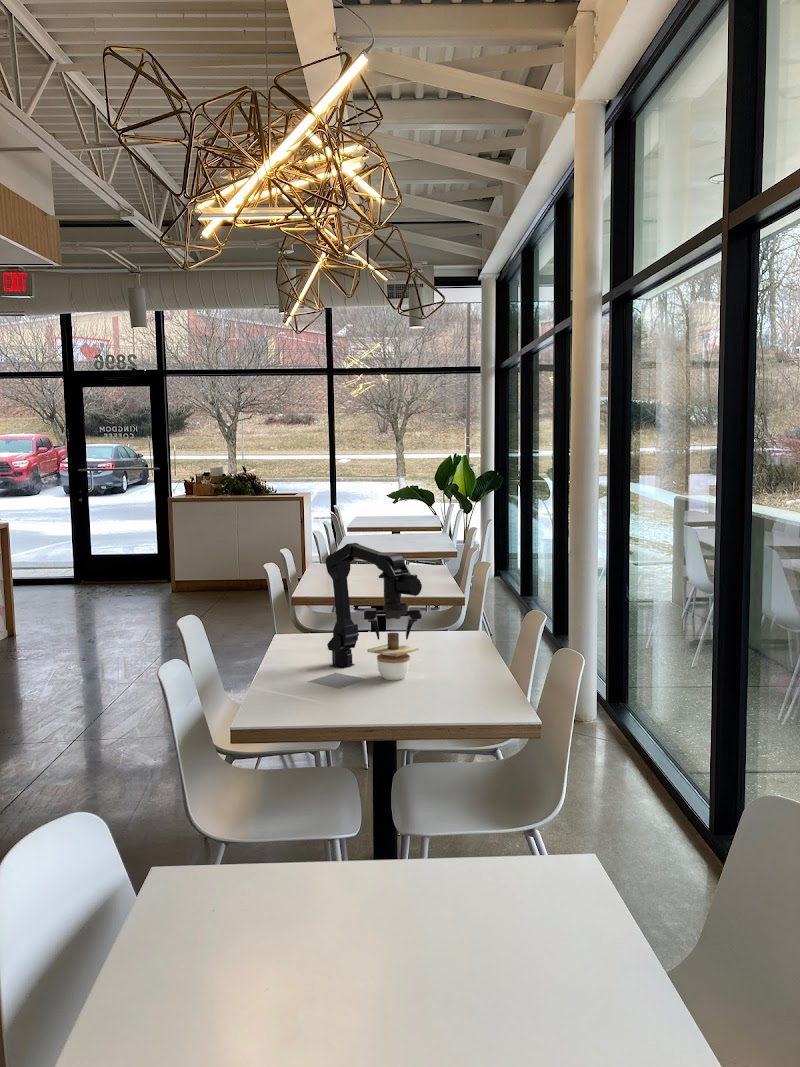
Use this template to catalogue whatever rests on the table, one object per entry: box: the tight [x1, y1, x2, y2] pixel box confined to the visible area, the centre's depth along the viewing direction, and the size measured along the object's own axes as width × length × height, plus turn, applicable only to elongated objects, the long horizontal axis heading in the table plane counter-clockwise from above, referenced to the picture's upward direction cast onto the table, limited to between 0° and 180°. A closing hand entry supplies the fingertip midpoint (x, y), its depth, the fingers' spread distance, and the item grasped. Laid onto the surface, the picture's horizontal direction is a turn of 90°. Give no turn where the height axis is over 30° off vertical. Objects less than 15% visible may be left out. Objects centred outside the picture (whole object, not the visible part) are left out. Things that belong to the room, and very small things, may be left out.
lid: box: [366, 632, 420, 657], centre depth 291 cm, size 12×12×6 cm
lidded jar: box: [376, 653, 411, 681], centre depth 292 cm, size 11×11×9 cm
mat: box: [307, 672, 367, 689], centre depth 290 cm, size 14×14×1 cm
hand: (392, 639), depth 293 cm, fingers open, 9 cm apart
